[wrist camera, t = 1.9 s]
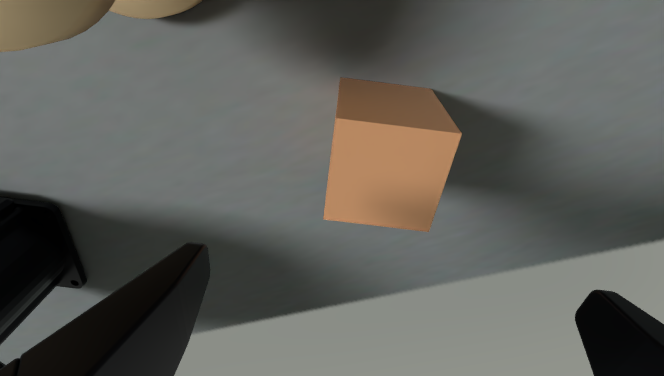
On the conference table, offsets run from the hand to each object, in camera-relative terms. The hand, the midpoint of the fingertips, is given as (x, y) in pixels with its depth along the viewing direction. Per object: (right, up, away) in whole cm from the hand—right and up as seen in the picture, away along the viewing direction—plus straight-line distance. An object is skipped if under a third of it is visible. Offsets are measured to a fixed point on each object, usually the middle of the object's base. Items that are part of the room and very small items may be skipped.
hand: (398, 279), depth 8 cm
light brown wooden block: (+1, +5, +8) cm, 10 cm away
